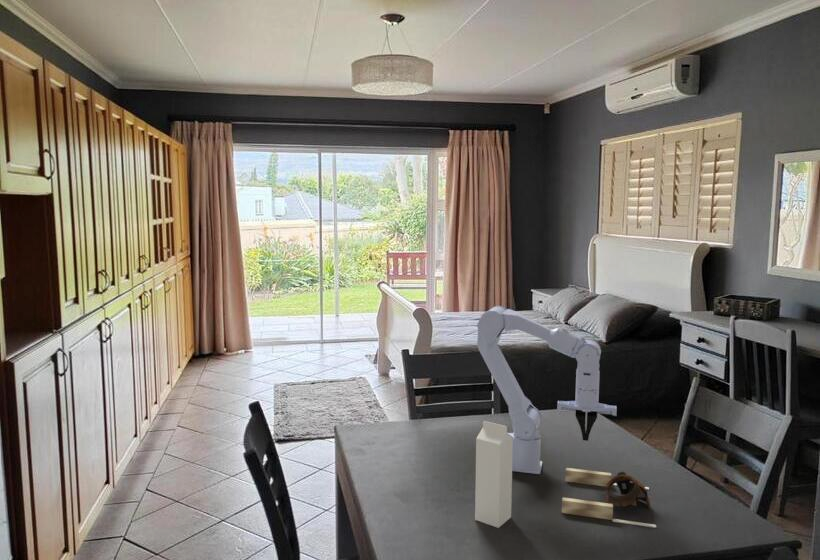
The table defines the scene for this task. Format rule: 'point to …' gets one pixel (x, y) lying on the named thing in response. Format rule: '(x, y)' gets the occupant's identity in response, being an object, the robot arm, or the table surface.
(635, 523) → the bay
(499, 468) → the milk
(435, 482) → the table surface
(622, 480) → the pottery mug
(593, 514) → the cradle
